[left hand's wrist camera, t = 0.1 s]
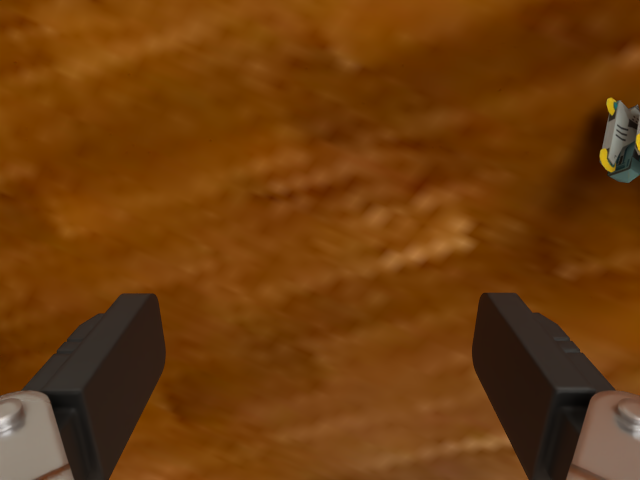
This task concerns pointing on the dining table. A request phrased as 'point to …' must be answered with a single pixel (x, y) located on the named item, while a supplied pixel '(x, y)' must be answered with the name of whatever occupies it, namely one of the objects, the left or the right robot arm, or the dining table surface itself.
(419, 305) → the dining table surface
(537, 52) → the dining table surface
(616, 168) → the figurine
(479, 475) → the dining table surface
